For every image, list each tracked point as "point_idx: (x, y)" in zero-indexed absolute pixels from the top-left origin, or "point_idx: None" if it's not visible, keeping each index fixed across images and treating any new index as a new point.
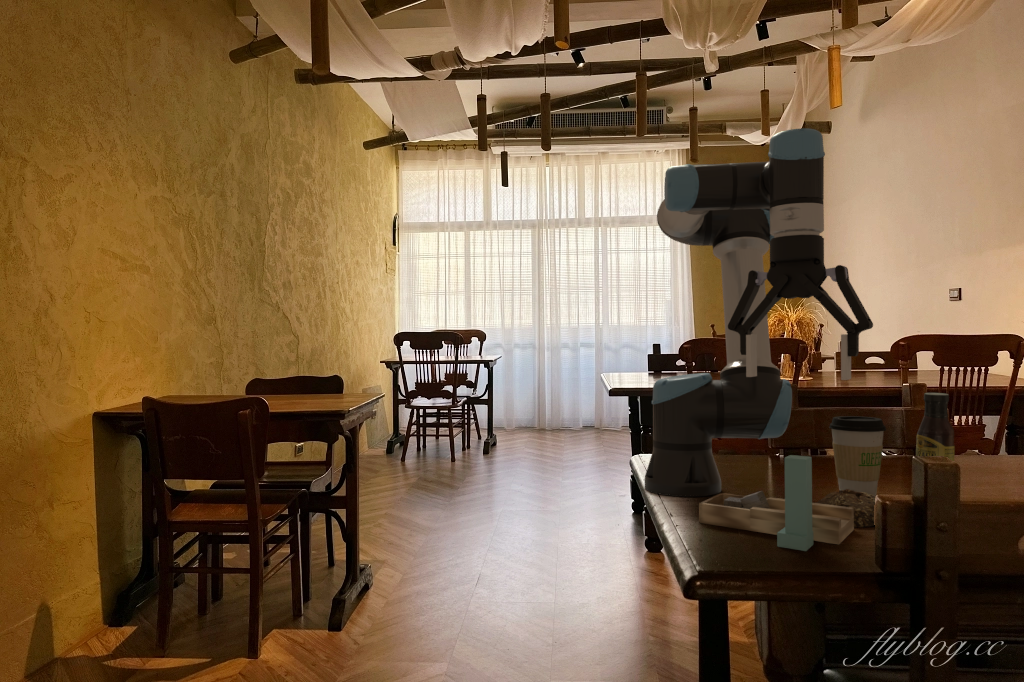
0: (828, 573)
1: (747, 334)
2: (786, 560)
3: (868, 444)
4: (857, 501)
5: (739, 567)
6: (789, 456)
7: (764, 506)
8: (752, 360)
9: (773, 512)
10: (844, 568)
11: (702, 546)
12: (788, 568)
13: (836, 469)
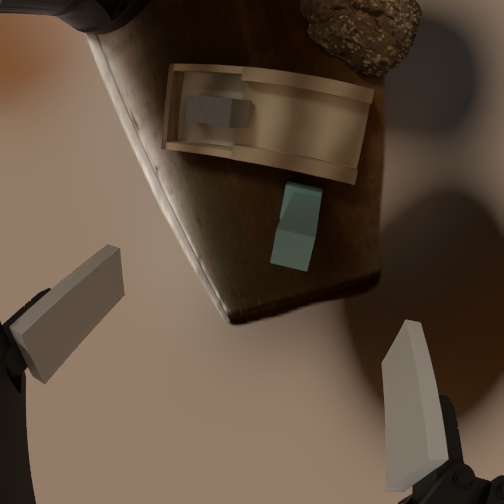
0: (337, 288)
1: (26, 366)
2: None
3: None
4: (376, 33)
5: (257, 297)
6: (277, 247)
7: (244, 119)
8: (94, 314)
9: (264, 164)
10: (353, 268)
11: (208, 244)
12: (301, 286)
13: None
